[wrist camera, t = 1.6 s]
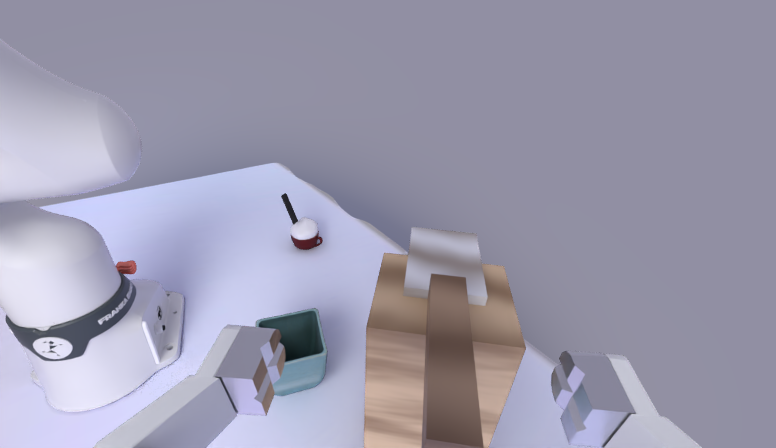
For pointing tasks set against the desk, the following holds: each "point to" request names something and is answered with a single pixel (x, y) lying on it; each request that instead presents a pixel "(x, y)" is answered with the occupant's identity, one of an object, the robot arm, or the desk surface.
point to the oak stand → (407, 356)
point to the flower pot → (299, 350)
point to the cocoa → (302, 229)
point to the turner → (448, 333)
